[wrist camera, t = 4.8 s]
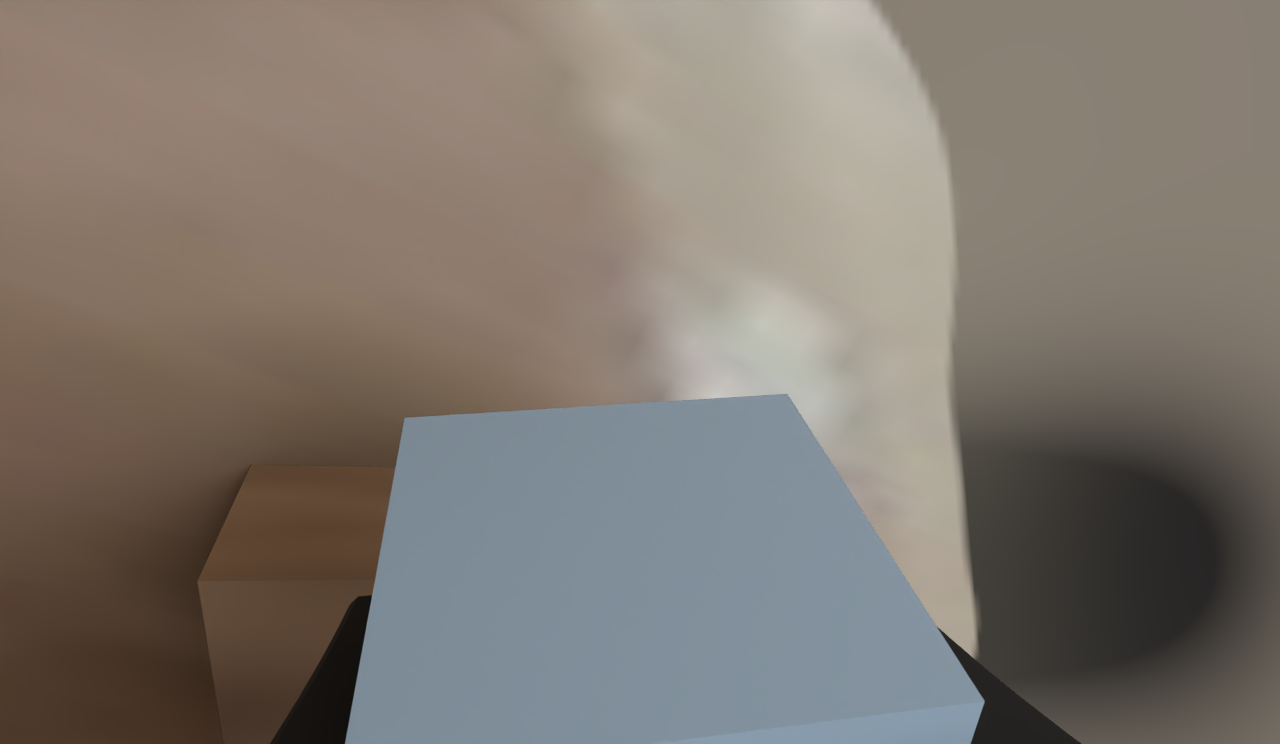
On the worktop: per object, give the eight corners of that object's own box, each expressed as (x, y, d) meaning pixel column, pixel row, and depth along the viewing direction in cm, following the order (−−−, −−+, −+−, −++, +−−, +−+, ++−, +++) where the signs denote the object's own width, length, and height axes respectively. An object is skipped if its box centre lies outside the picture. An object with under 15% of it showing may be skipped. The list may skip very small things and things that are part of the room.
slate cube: (753, 657, 13) (882, 1012, 9) (441, 692, 12) (414, 1099, 8) (787, 394, 11) (984, 701, 6) (404, 417, 10) (338, 783, 6)
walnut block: (575, 690, 23) (588, 823, 20) (281, 702, 22) (240, 848, 18) (605, 463, 20) (628, 576, 16) (254, 456, 18) (197, 581, 15)
